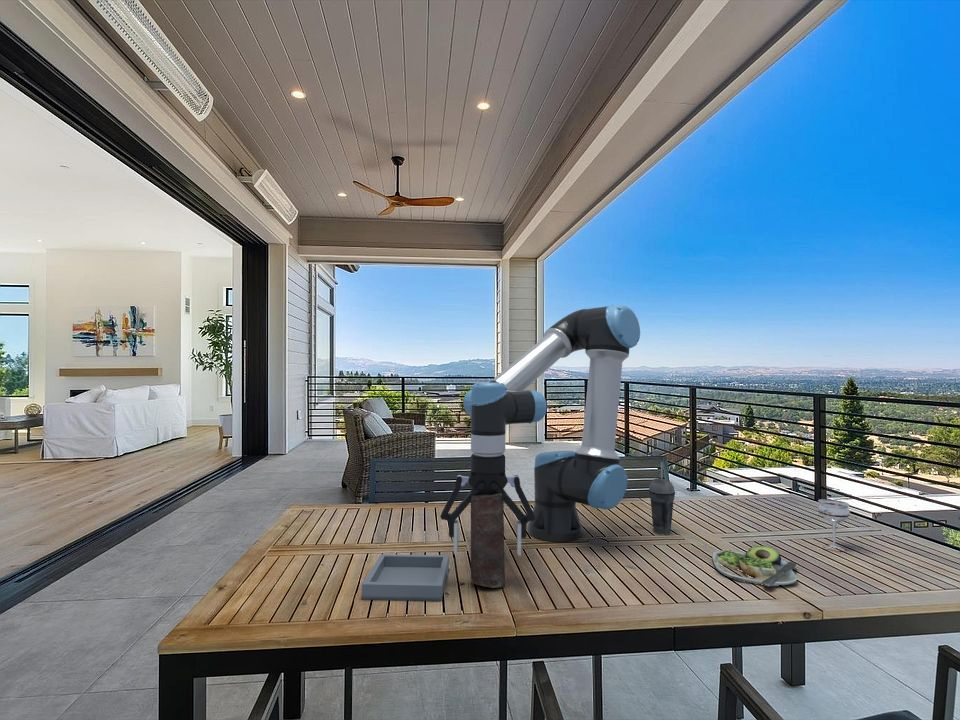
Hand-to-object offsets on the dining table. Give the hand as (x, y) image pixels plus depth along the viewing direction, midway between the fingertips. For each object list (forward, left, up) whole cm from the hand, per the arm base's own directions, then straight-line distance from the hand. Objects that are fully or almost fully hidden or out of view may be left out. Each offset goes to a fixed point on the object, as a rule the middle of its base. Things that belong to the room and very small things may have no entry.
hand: (487, 552), depth 102 cm
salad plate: (-62, -10, -7) cm, 63 cm away
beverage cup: (-50, -36, -7) cm, 62 cm away
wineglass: (-91, -25, -7) cm, 95 cm away
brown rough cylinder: (0, 0, -7) cm, 7 cm away
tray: (+17, 0, -7) cm, 18 cm away
